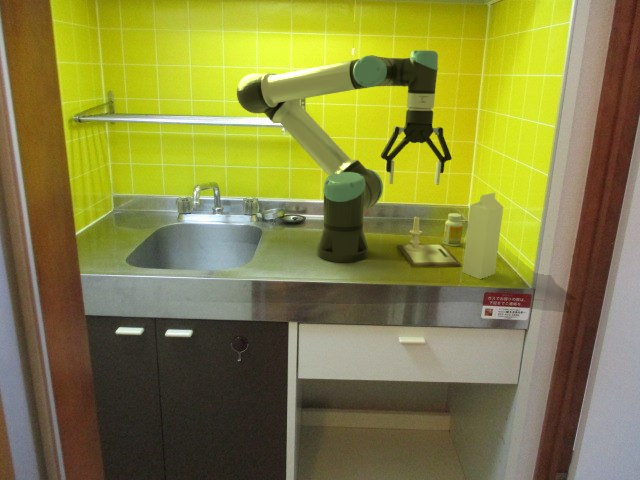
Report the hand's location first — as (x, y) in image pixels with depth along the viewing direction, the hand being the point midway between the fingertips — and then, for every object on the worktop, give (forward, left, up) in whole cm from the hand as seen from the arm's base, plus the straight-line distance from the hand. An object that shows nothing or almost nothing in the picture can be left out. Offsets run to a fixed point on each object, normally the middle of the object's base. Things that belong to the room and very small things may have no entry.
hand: (413, 183), depth 146 cm
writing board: (+4, -7, -20) cm, 22 cm away
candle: (+1, -3, -20) cm, 20 cm away
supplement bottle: (+15, +4, -21) cm, 26 cm away
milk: (+14, -21, -21) cm, 32 cm away
